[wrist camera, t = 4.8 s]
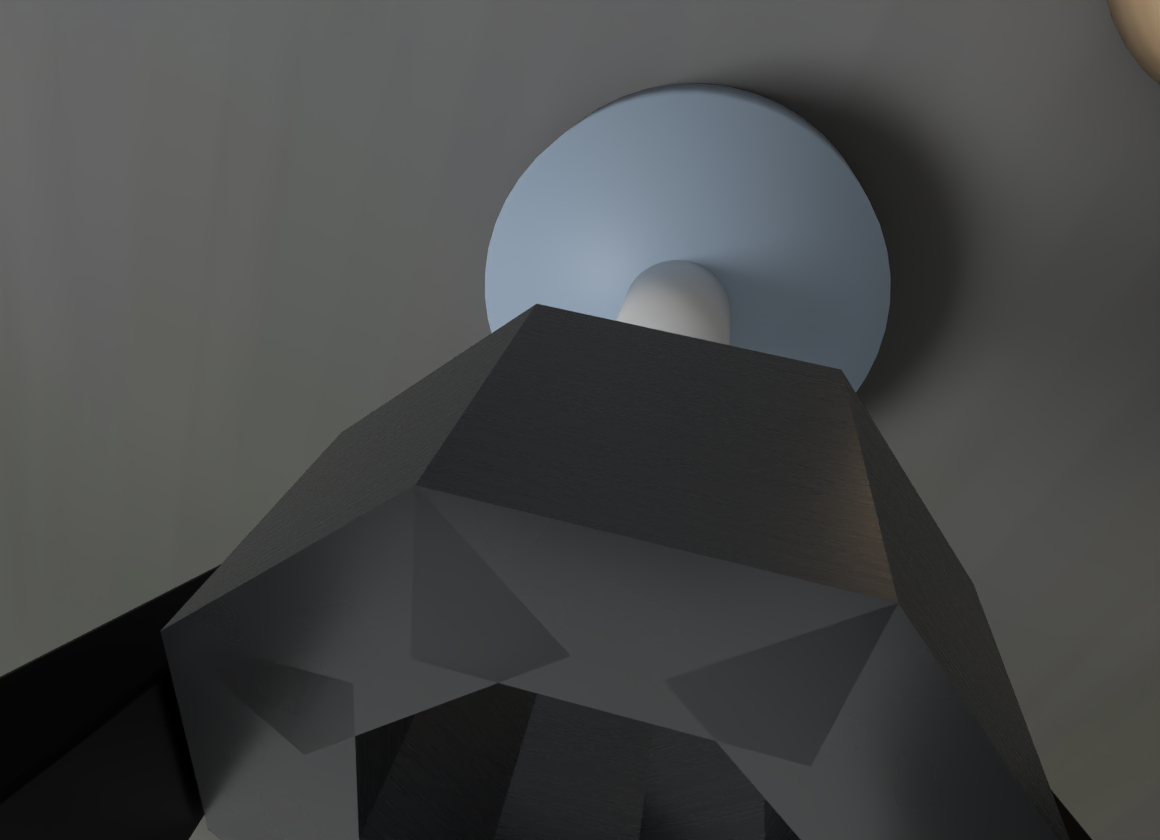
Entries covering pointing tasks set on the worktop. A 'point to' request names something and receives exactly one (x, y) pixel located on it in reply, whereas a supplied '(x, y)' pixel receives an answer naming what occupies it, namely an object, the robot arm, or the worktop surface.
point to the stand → (1140, 31)
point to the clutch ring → (604, 618)
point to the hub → (699, 229)
